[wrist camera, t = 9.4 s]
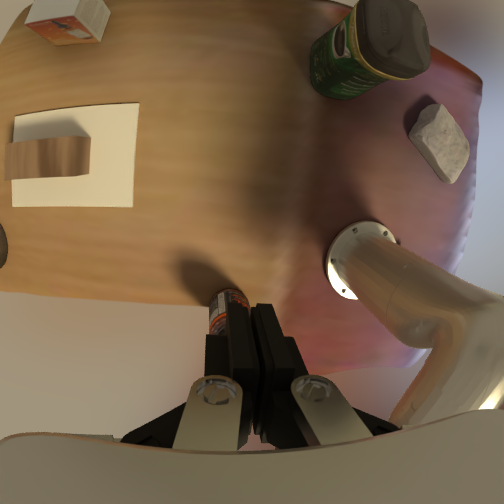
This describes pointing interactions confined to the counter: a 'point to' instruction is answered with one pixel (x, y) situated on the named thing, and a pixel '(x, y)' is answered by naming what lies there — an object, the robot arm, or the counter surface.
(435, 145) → the stone block
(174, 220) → the counter surface
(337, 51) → the coffee jar
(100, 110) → the cream mat
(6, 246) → the pillar candle
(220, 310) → the supplement bottle
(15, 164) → the walnut block
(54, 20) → the small box
